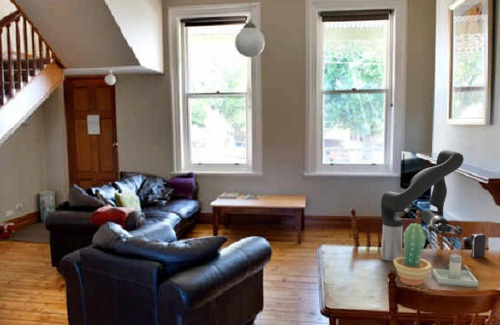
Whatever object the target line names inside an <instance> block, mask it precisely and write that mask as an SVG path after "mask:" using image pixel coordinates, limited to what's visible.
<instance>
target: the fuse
mask: <svg viewBox="0 0 500 325" xmlns="http://www.w3.org/2000/svg"><path fill="white" fill-rule="evenodd" d="M462 258H463V256H462V255H460V254H457V253H451V254H449V264H450V265H449V268H448V270H449V279H461V269H462V260H463V259H462Z"/></svg>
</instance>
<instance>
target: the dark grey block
mask: <svg viewBox="0 0 500 325" xmlns="http://www.w3.org/2000/svg"><path fill="white" fill-rule="evenodd" d="M486 239H487V237H486V235H485V234H483V233H473V234H471V235H470V238H469V240H470V242H469V244H470V245H471V249H472V250H471V253H470V257H472V258H476V259H477V258H483V257H485V256H486V245H487V244H486V242H487V240H486Z"/></svg>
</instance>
